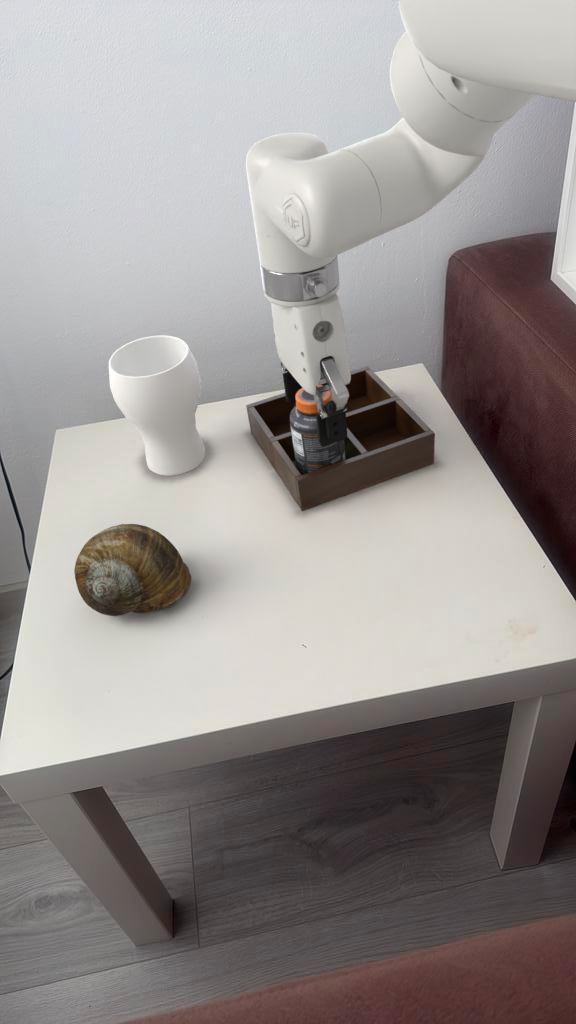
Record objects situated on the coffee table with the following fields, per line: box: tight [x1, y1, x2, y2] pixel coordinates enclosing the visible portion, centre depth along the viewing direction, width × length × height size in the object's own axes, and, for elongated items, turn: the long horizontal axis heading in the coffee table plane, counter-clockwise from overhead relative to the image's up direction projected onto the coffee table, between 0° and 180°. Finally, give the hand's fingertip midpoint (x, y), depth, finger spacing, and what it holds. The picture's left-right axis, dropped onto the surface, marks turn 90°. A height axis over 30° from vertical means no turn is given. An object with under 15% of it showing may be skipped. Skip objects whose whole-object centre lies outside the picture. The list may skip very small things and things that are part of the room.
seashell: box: [73, 523, 192, 617], centre depth 76 cm, size 11×9×8 cm
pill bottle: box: [290, 385, 346, 475], centre depth 85 cm, size 6×6×11 cm
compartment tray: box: [245, 365, 436, 512], centre depth 91 cm, size 17×17×5 cm
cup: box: [108, 334, 207, 477], centre depth 90 cm, size 11×11×15 cm
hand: (315, 419), depth 83 cm, fingers open, 9 cm apart
